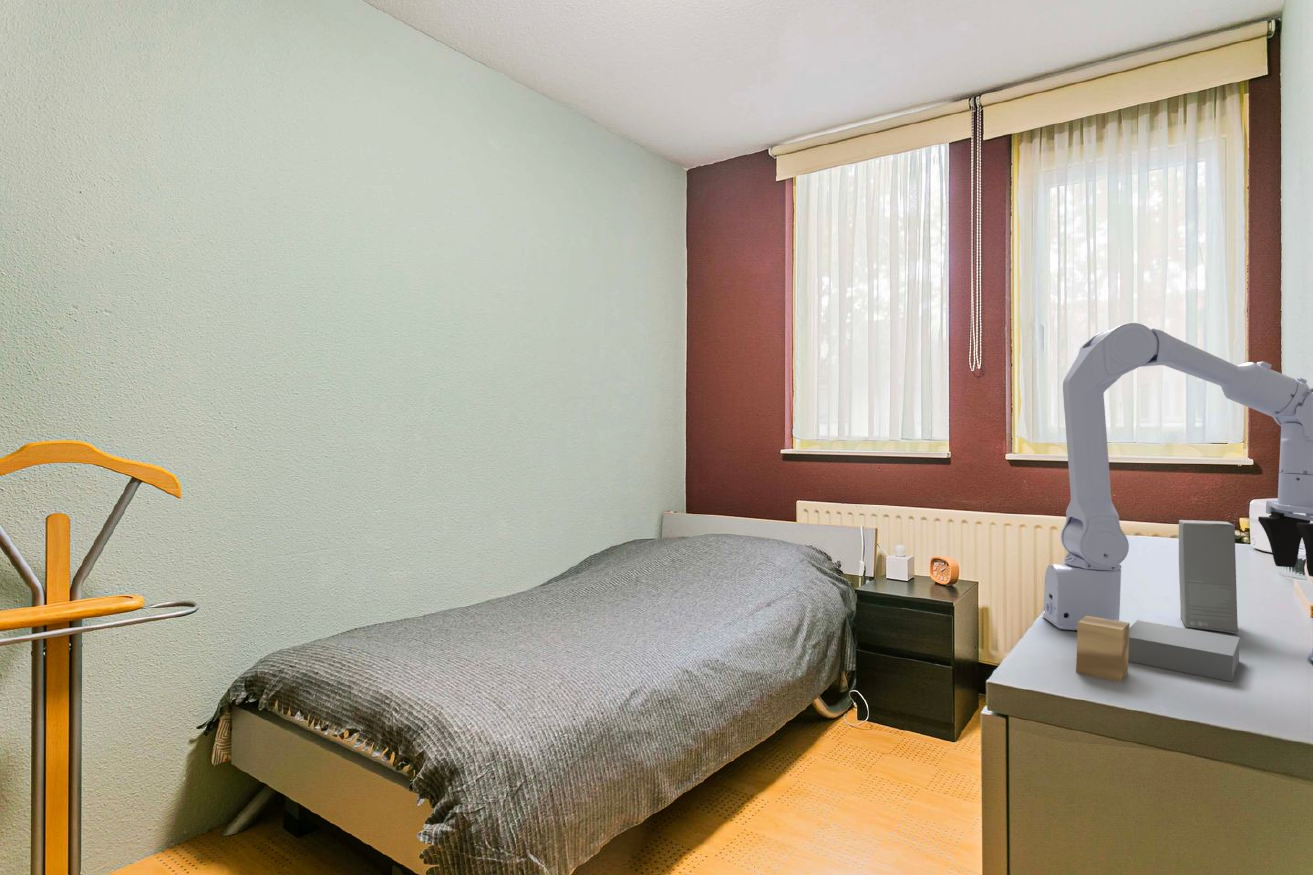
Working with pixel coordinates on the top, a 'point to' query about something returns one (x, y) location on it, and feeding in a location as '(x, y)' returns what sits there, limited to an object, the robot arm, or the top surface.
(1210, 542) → the skincare box
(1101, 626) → the oak block
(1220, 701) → the top surface
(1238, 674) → the top surface
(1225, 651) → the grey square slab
